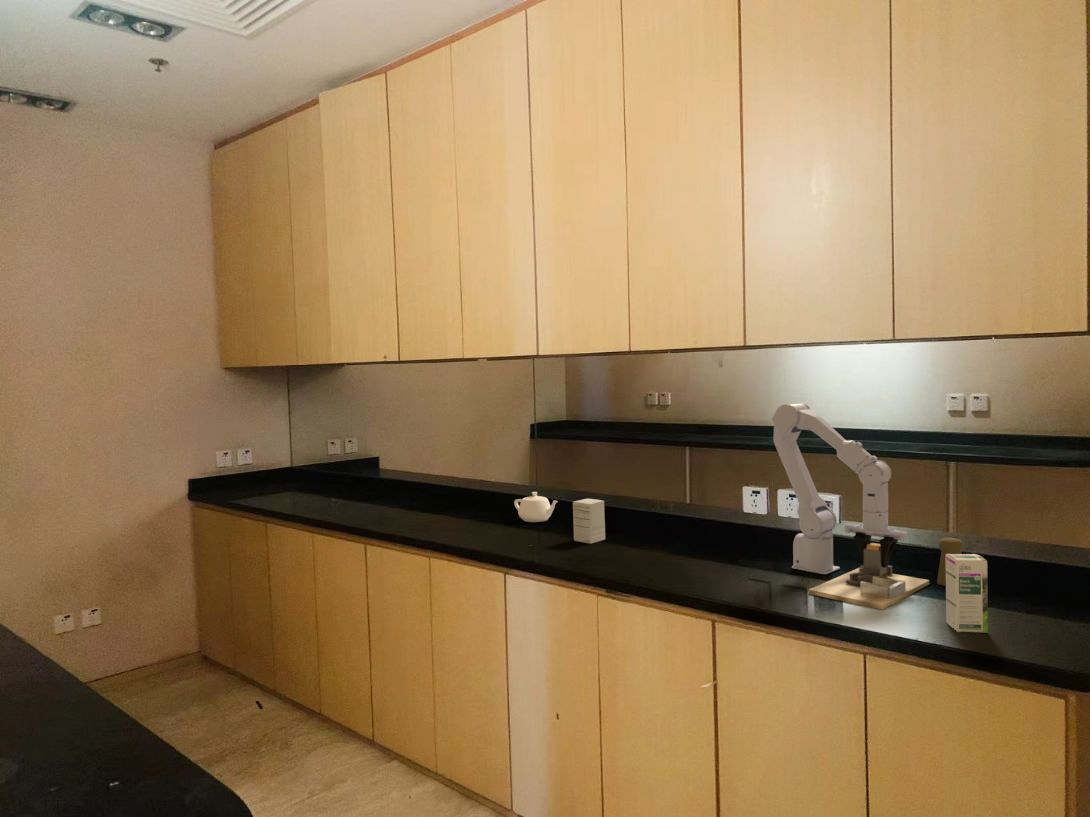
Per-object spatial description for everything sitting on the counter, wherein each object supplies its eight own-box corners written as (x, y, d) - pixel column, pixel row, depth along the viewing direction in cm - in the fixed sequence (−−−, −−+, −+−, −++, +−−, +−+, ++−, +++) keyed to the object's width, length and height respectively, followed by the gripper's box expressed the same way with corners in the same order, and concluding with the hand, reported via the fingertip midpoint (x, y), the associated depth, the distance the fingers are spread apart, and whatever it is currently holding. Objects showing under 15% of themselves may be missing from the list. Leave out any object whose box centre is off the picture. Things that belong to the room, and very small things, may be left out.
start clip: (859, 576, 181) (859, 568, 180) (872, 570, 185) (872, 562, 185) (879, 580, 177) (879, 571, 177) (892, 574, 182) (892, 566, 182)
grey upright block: (856, 571, 183) (856, 543, 182) (863, 568, 185) (863, 541, 185) (880, 575, 178) (880, 547, 178) (887, 572, 181) (887, 544, 181)
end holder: (860, 593, 167) (860, 582, 167) (874, 586, 172) (874, 575, 172) (891, 599, 162) (891, 588, 162) (905, 592, 167) (905, 581, 167)
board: (808, 593, 171) (808, 589, 171) (859, 571, 188) (859, 567, 188) (882, 609, 158) (882, 605, 158) (929, 584, 176) (929, 580, 176)
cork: (939, 578, 180) (939, 534, 179) (967, 582, 176) (967, 537, 176) (934, 584, 175) (934, 539, 175) (962, 588, 172) (962, 542, 171)
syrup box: (956, 632, 144) (956, 559, 143) (945, 622, 149) (945, 552, 149) (988, 633, 143) (988, 560, 142) (975, 623, 148) (975, 552, 148)
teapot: (568, 519, 267) (567, 492, 266) (547, 525, 257) (546, 497, 256) (525, 514, 279) (525, 488, 278) (504, 520, 269) (503, 492, 269)
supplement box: (588, 536, 238) (587, 498, 237) (605, 539, 232) (605, 500, 232) (573, 540, 232) (572, 501, 232) (590, 544, 227) (589, 503, 226)
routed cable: (844, 583, 174) (844, 579, 174) (859, 576, 180) (859, 572, 180) (877, 590, 169) (877, 586, 169) (892, 582, 174) (892, 578, 174)
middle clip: (860, 585, 173) (860, 577, 173) (849, 581, 176) (849, 573, 176) (872, 583, 174) (872, 575, 174) (861, 580, 177) (861, 571, 177)
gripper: (839, 509, 183) (839, 562, 184) (898, 516, 172) (898, 573, 173) (852, 505, 188) (852, 557, 188) (911, 512, 177) (911, 567, 178)
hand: (875, 565), depth 181 cm, fingers closed on grey upright block, 4 cm apart
